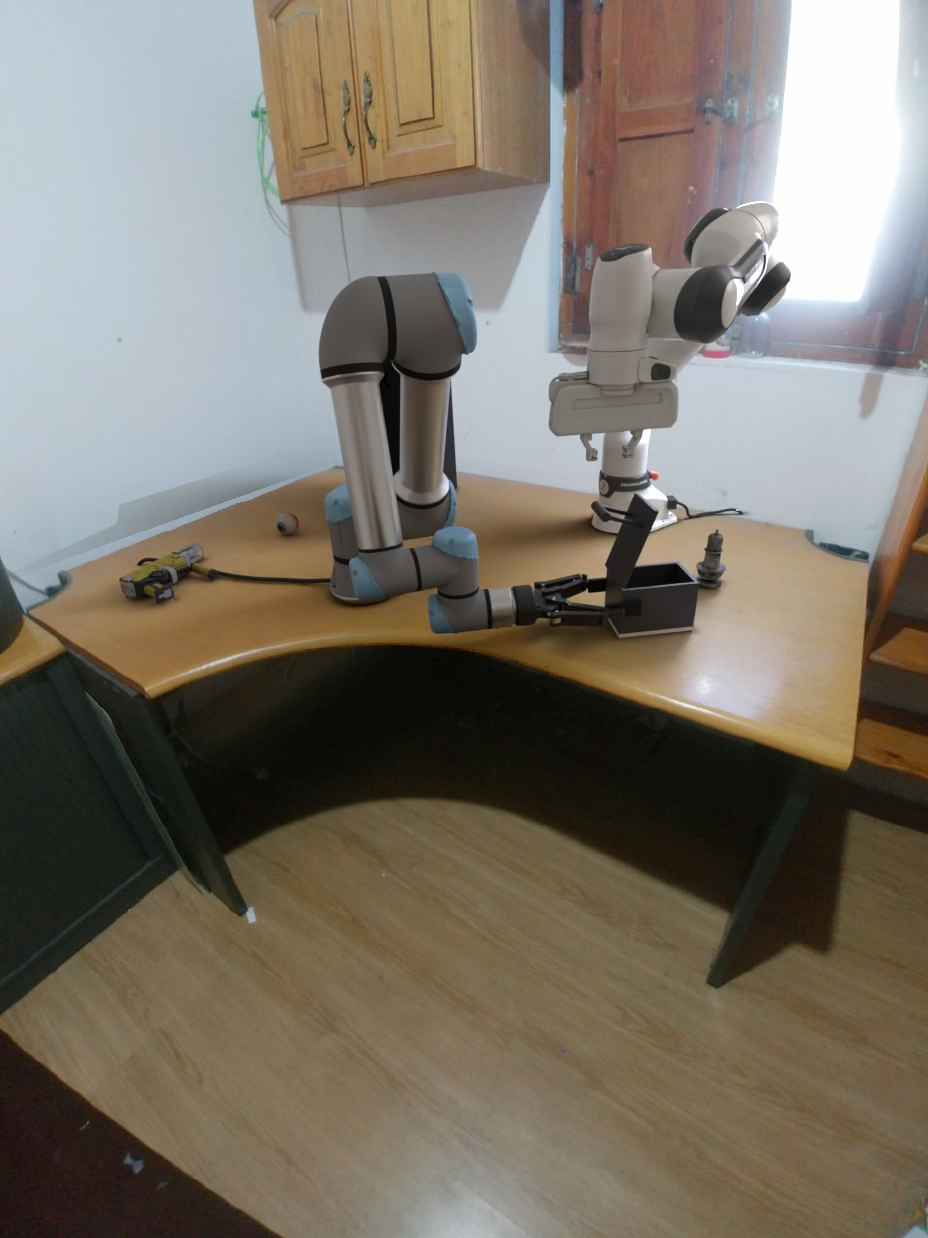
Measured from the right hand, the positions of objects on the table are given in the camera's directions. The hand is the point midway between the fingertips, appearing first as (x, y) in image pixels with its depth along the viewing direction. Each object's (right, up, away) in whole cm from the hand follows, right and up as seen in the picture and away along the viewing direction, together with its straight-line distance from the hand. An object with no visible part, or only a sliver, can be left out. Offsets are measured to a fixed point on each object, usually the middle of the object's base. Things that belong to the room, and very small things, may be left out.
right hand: (609, 458), depth 99 cm
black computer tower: (-40, +7, +81) cm, 90 cm away
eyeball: (-72, -3, +66) cm, 98 cm away
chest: (+11, -27, +16) cm, 33 cm away
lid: (+6, -13, +8) cm, 16 cm away
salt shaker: (+28, -19, +29) cm, 44 cm away
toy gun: (-90, -18, +43) cm, 101 cm away
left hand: (+7, -22, +13) cm, 27 cm away
